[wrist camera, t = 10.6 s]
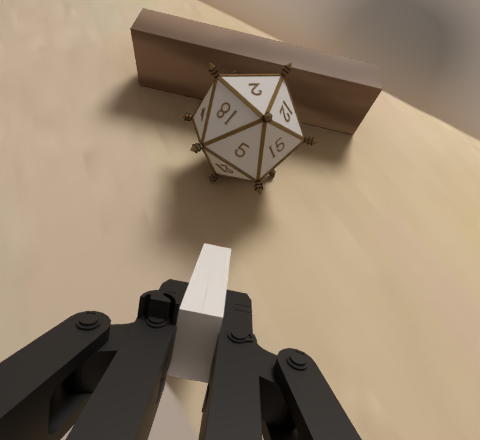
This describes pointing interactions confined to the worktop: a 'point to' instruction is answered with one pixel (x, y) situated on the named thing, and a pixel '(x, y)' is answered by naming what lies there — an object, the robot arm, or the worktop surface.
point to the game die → (247, 125)
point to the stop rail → (253, 67)
